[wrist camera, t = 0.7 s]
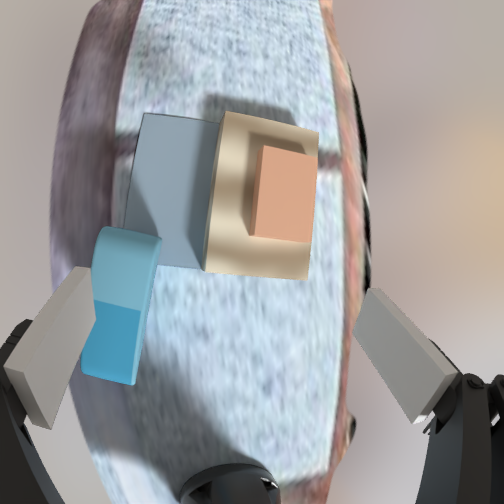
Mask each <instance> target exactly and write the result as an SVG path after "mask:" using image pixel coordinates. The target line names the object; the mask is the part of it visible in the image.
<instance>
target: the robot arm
mask: <svg viewBox="0 0 504 504" xmlns="http://www.w3.org/2000/svg"><path fill="white" fill-rule="evenodd" d="M95 321H96V316H95V308H94V300H93V291H92V281H91V269H90V268H87V267H78V266H75V267H74V269H73V270H72V271H71V272H70V273H69V275H68V276H67V277H66V278H65V280H64V281H63V282H62V283H61V285H60V286H59V287H58V288H57V290H56V291H55V292H54V294H53V295H52V296H51V297H50V299H49V300H48V302H47V303H46V304H45V305H44V307H43V308H42V309H41V311H40V312H39V314H38V315H37V316H36V318H35V319H34V320H29V319H26V320H24V321H23V322H21V323H20V324H18V325H17V326H16V327H15V329H14V330H13V331H12V333H11V334H10V335H11V336H9V337H8V338H7V340H6V343H4V344H3V345H2V347H1V349H0V504H65V503H64V501H63V499H62V498H61V496H60V495H59V493H58V491H57V489H56V488H55V486H54V484H53V482H52V480H51V479H50V477H49V475H48V473H47V471H46V469H45V467H44V465H43V463H42V461H41V459H40V457H39V455H38V453H37V451H36V448H35V446H34V444H33V442H32V440H31V437H30V435H29V432H28V430H27V427H26V426H25V424H24V420H25V418H26V415H28V417H29V419H30V420H31V422H32V424H34V425H37V426H40V427H43V428H46V429H50V430H51V429H52V426H53V423H54V420H55V417H56V415H57V412H58V409H59V406H60V404H61V401H62V398H63V396H64V393H65V390H66V388H67V385H68V383H69V380H70V378H71V375H72V373H73V370H74V368H75V366H76V363H77V361H78V358H79V356H80V354H81V352H82V349H83V347H84V345H85V343H86V340H87V338H88V336H89V334H90V332H91V329H92V327H93V325H94V323H95ZM352 333H353V335H354V336H355V338H356V339H357V341H358V342H359V344H360V345H361V347H362V348H363V350H364V351H365V353H366V354H367V355H368V357H369V359H370V360H371V362H372V363H373V365H374V366H375V368H376V369H377V370H378V372H379V374H380V375H381V377H382V378H383V380H384V381H385V383H386V384H387V386H388V388H389V389H390V390H391V392H392V394H393V395H394V397H395V398H396V400H397V401H398V403H399V405H400V406H401V408H402V409H403V411H404V412H405V414H406V416H407V417H408V419H409V420H410V422H411V424H415V423H418V422H421V421H424V420H425V419H426V418H427V417H428V415H429V414H430V413H431V411H432V410H433V412H434V413H435V416H434V418H433V419H432V420H431V422H430V423H429V424H428V425H427V427H426V428H425V429H424V431H423V433H424V434H425V433H426V432H427V430H428V429H430V432H429V433H428V435H430V437H429V443H428V449H427V455H426V460H425V466H424V470H423V475H422V480H421V484H420V488H419V492H418V496H417V500H416V503H415V504H504V375H497V376H496V377H495V378H494V380H493V381H492V383H491V384H485V383H484V382H483V381H482V379H480V378H479V377H478V376H476V375H474V374H470V373H467V374H464V375H463V374H462V373H461V372H460V370H459V369H458V368H457V367H456V366H455V365H454V364H453V363H452V361H451V360H450V359H449V358H448V357H447V356H445V354H444V353H443V351H440V348H439V347H438V346H437V345H436V344H435V343H434V342H433V341H431V340H430V339H428V338H427V337H426V336H425V335H424V334H423V333H422V331H421V330H420V329H419V328H418V327H417V326H416V325H415V324H414V323H413V322H412V321H411V320H410V319H409V318H408V317H407V316H406V315H405V314H404V313H403V312H402V311H401V310H400V308H399V307H398V306H397V305H396V304H395V303H394V302H393V301H392V300H391V299H390V298H389V297H388V296H387V295H386V294H385V293H384V292H383V291H382V290H381V289H376V288H368V290H367V293H366V296H365V299H364V302H363V305H362V307H361V310H360V313H359V316H358V318H357V321H356V324H355V326H354V329H353V332H352ZM498 413H499V416H500V419H499V420H498V421H497V423H496V424H495V425H494V426H492V424H491V422H492V420H493V419H494V418H495V417H496V416H497V414H498ZM180 500H181V504H281V499H280V490H279V487H278V485H277V483H276V481H275V479H274V478H273V476H272V475H271V474H270V473H269V472H268V471H266V470H264V469H262V468H260V467H257V466H253V465H248V464H228V465H221V466H217V467H213V468H210V469H207V470H204V471H202V472H200V473H198V474H196V475H195V476H193V477H192V478H191V479H189V480H188V481H187V482H186V483H185V485H184V486H183V488H182V490H181V493H180Z"/></svg>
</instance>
